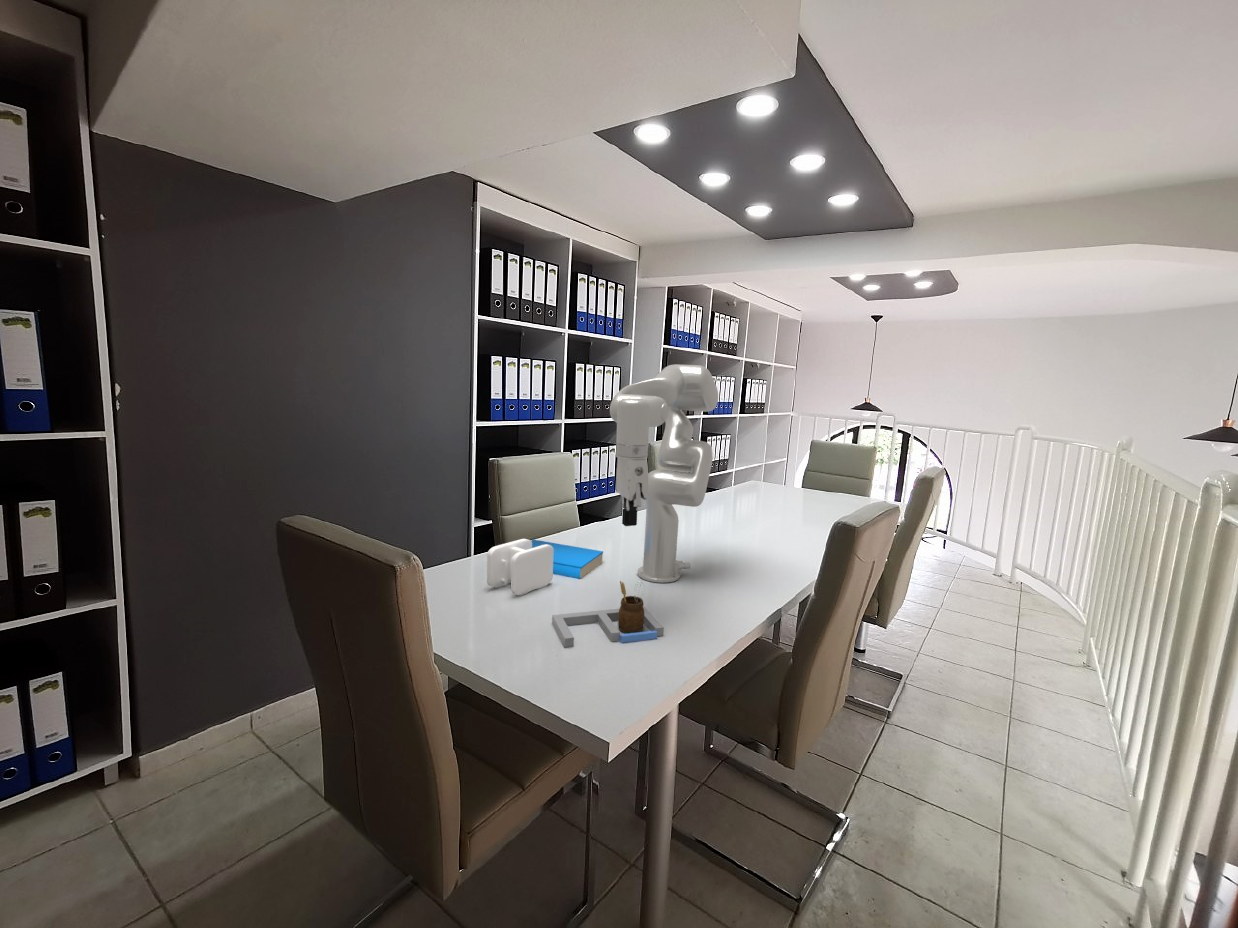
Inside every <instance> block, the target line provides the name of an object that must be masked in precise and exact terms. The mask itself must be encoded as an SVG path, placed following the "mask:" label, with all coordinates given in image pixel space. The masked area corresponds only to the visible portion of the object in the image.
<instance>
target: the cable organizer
mask: <svg viewBox="0 0 1238 928" xmlns="http://www.w3.org/2000/svg"><path fill="white" fill-rule="evenodd" d="M531 541H532V540H530V539H527V538H521V539H517V540H513V541H509V542H506V543H502V544H498V545H495V546H492V547H491V548H490V549H489V550H488V551H487V556H486V557H487V558H486V560H487V561H486V569H487V570H486V584H487V586H490V587H492V588H498V589H499V588H502V587H504V586H508V584H510V591H511V592H512V594H514V595H517V596H524V595H525V594H529V593H530V592H531V591H533V590H536V589H537V590H539V589H541V588H544V587H546V586H547V585H548V584H550V583H551V582H552V580H553V576H554V574H553V553H554V549H553V547H552V546H551V545H547V544H545V545H541V546H538V547H534V548H532V542H531ZM523 594H524V595H523Z"/></svg>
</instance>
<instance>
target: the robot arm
mask: <svg viewBox="0 0 1238 928" xmlns="http://www.w3.org/2000/svg"><path fill="white" fill-rule="evenodd" d="M718 403H719V391H718V387H717V385H716V382H715V380H714V377H713V375H712V373H711V372H710V370H709V369H708V368H707V367H706V366H704V365H699V364H678V363H677V364H676V363H675V364H669V365H667V366H665V367H663V368H662V370H661V371H660V372H659V373H658V374H657V375H656V376H654V377H653V378H650V379H646V380H643V381H642V380H641V381H639V382H634V383H632V384H628V385H626V386H624V387H623V388H621V389H620V390H619V391H618V392H617V393H616V394H615V395H614V396H613V398H612V400H611V402H610V405H609V416H610V418H611V419H612V421H613V422H615V423H616V439H615V440H616V441H615V443H616V444H615V445H616V446H615V447H616V448H615V449H616V450H615V457H616V458H617V462H616V466H617V467H616V474H615V475H616V477H615V479H616V480H615V481H616V482H615V483H616V484H615V486H616V492H617V493H618V494H619V495H620V497H621V504H622V505H621V507H622V515H621V516H622V520H621V522H622V523H621V524H622V525H623V526H625V527H631V526H633V527H635V526H637V524H638V510H639V508H640V507H642V500H645V505H646V506H645V527H644V528H645V529H644V530H645V531H644V547H643V548H644V549H643V559H642V566H640V567H639V568H638V569H637V576H638V577H639V578H640V579H643V580H644V581H648V582H652V583H659V584H660V583H673V582H676V581H679V579H680V578H681V572H680V571H682V570H690V569H691V565H692V564H691V562H689V561H688V562H687V561H686V562H683V560H677V550H678V548H677V547H678V533H679V522H680V521H679V516H678V513H677V511H676V509H675V507H674V506H673V505H676V506H685V507H691V508H696V507H699V506H700V505H702V504H703V502H704V500H705V497H706V492H707V488H708V483H709V479H710V474H711V470H712V465H713V455H714V454H713V449H712V446H711V444H709V443H708V442H707V441H703V440H697V439H692V438H693V434H694V426H693V424H692V422H691V420H690V418H688V417H687V415H686V414H685V413H684V411H692V412H704V413H705V412H712V411H713V410H715V409H716V407H717V406H718ZM664 423H665V426H664V432H663V435H662V439H661V443H660V447H659V450H658V454H657V462H658V465H659V466H660V467H661V468H663V469H655V470H652V471H649V467H648V460H647V459H648V455H649V434H650V433H649V429H650V428H656V427H660V426H661V425H663V424H664Z"/></svg>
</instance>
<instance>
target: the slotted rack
mask: <svg viewBox="0 0 1238 928" xmlns="http://www.w3.org/2000/svg"><path fill="white" fill-rule="evenodd" d="M643 608H644V626H645V625H646V626H647V627H646V626H645V627H646V628H647V629H648V630H647V631H641V632H637V633H629V634H628V633H622V634H621V630H620V629H619V628H617V626H616V625H615V624H614V622H615V621H618V618H619V609H620V608H611V609H601V610H591V611H583V612H581V611H579V612H570V613H560V614H553V615H552V617H551V624H552V626H553V627H554V630H555V631H556V634H557V636H558V638H559V640H560V642H561V643H562V646H563V647H564V648H570V647H571V648H572V647H575V646H574V645H575V644H574V643H575V637H574V635H573V634H572V632H571V629H570V628H569V626H574V625H575V626H576V625H584V624H585V625H586V624H594V623H596V622H597V624H598V625H599V626H600V628H601V630H602V631H603V632H604V633H605V635H606V637H607V638H608V639H609V641H610V642H620V644H624V643H630V642H631V643H632V642H641V641H647V640H648V641H650V640H657V639H658V637H664V631H665V630H664V626H663V625H662V624H661V623H660V622H659V620H657V618H656V617H655V616H654V615H653V614H652V613H651V612H650V611H649V610H648V609H647V608H646V607H645V606H644V605H643Z"/></svg>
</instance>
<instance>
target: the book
mask: <svg viewBox="0 0 1238 928" xmlns="http://www.w3.org/2000/svg"><path fill="white" fill-rule="evenodd" d="M530 541H531V542H532V548H534V547H538V546H541V545H545V544H547V545H551V546H552V547H553V549H554V553H553V575H558V576H564V577H569V578H574V579H579V580H581V579H582V578H584V576H586V575H588V574H589V573H590V572H591V571H593V570H595V569H596V568H597V567H598V566H599V565H601V564H602V563H603V556H604V555H603V554H604V551H603V550H597V549H591V548H586V547H580V546H574V545H566V544H561V543H556V542H550V541H544V540H538V539H532V540H530Z"/></svg>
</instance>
